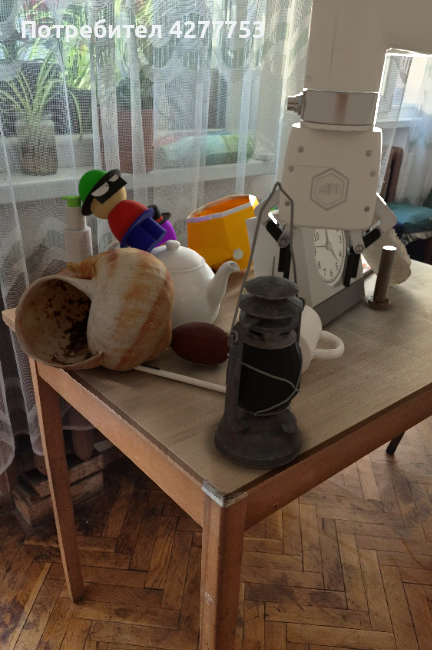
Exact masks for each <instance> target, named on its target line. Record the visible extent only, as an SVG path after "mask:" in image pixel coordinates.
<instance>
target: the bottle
mask: <svg viewBox="0 0 432 650" xmlns="http://www.w3.org/2000/svg"><path fill="white" fill-rule="evenodd" d="M60 199H61V200H66V205H64V214H65V215H64V216H65V225H66V226H64V227H63V228H62V233H63V242H64V250H65V251H64V252H65V260H66V263H67V262H72V263H76V264H77V263H78V262H80V261H82V260H84V259H86V258H88V257H91V256H94V251H93V239H92V230H91V229H92V228H91V227H90V226H88V225H87V216H84V215H82V213H81V208H82V204H83V203H82V200H81V198H80V196H79V195H74V194H73V195H67V196H66V195H64V196H63V195H62V196H61V197H60Z"/></svg>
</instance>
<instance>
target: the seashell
mask: <svg viewBox="0 0 432 650" xmlns="http://www.w3.org/2000/svg"><path fill="white" fill-rule="evenodd" d="M64 264H65V265H66V268H61V269H60V271H58V273H56V274H52V275H46V276H41V277H39V278H36V280H33V282H32V283H30V284H29V285H28V287H26V289H25V290H24V291H23V293H22V294H21V296H20V298H19V299H18V303H17V306H16V308H15V311H14V315H15V317H14V332H15V336H16V339H17V342H18V344H19V346H20V349H21V351H22V352H23V353H24V354H25V355H27V356H28V357H29V358H31V359H32V360H34V361H36V362H38V363H41V364H43V365H46V366H48V367H51V368H55V369H60V370H68V371H69V370H71V371H72V370H88V369H94V368H98V367H101V366H102V368H103V369H104V368H106V369H109V370H112V371H118V372H125V371H130V370H132V369H133V368H135V367H137V366H139V365H140V364H144V363H145V362H147V361H149V362H150V361H153V360H156V358H158V357H159V356H160V355H161V354H163V353H164V352H166V351H168V350H169V348H170V344H171V340H172V334H171V332H172V319H171V315H172V312H173V308H174V303H175V290H174V283H173V280H172V276H171V274H170V272H169V271H168V269H167V268H166V267H165V265H164V264H163V263H162V262H161V261H160V260H159V259H158V258H156V257H155V256H154V255H153V254H150V253H148V252H146V251H143V250H139V249H136V248H128V247H127V248H120V247H118V248H114V250H108V251H106V250H104V251H102V252H99V253H96V254H93V256H91V257H88V258H86V259H84V260H82V261H80V262H78V263H77V264H76V263H72V262H67V261H66V262H65V263H64Z"/></svg>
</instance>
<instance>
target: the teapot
mask: <svg viewBox="0 0 432 650" xmlns="http://www.w3.org/2000/svg"><path fill="white" fill-rule="evenodd" d="M118 245H120V242H119V241H118V240H117V239H116V238H115V240H113V241H111V242H110V243H109V244H108V245H107V247H106V250H105V251H108V250H114V249H116V248H117V246H118ZM127 248H131V247H130V246H129V247H127ZM150 254H153V255H154V256H155V257H156V258H158V259H159V260H160V261H161V262H162V263H163V264H164V265H165V267H166V268H167V269H168V271H169V272H170V274H171V276H172V280H173V283H174V290H175V303H174V308H173V312H172V315H171V319H172V330H173V329H175V328H176V327H178V326H179V325H182V324H185V323H189V322H206V323H209V324H213V325H214V322H216V319H217V318H218V316H219V312H220V310H221V309H220V308H221V304H222V302H223V299H224V297H225V294H226V290H227V286H228V282H229V278H230V276H231V274H233V273H239V272H241V271H240V268H239V266H238V264H237V263H236V262H234V261H228V262H225V263H224V264H222V265H221V267H220V268H219V269H218V270H216V272H215V273H214V272H213V270H212V268H210V267H209V266H208V265H207V264H206V263H205V260H204V258H203V257H202V256H200V255H199V254H197V253H196V252H195V251H193V250H192V249H189V248H188V247H187V246H183V245H181V243H180V241H178V240H177V241H175V240H169V241H166V243H165V246H160V247H156V248H154V249H153V250H152V251H151V252H150Z"/></svg>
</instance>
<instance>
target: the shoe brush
mask: <svg viewBox="0 0 432 650" xmlns="http://www.w3.org/2000/svg"><path fill="white" fill-rule="evenodd" d="M379 220H380V216H379V215H378V214H377V213H376V211H374V216H373V220H372V223H371V225H370V226H369V227H368V228H367V229H369V228H370V227H371V226H374V225H375V224H376V223H377V222H378V221H379ZM367 229H364V230H361V234H362V233H363V232H365V231H366V230H367ZM397 235H398V233H397V232H396V229H395V228H394V227H392V228H391V229H390V230H388V231H387V232H386V233H384V234H383V235H381V236H380V238H379V239H378V240H376V241H375V242H374V243H372V244H371V245H370V246H368V247H367V248H366V249H365V250H364V252H363V253H361V256H363V257H364V259H365V260H366V262H367V264H368V265H369V266H370V267H371V269H372V271H373V273H374V274H375V276H377V273H378V268H379V263H380V258H381V253H382V248H383V247H384V246H391V247H394V248H396V253H395V257H394V262H393V267H392V272H391V276H390V281H389V286H395V285H401V284H403V283H405V282H406V281H407V280H408V279H409V278H410V277H411V275H412V269H411V265H412V260H411V258H410V254H408V251H407V248H406V246H405V243H404V242H402V239H401V238H400V236H397ZM399 238H400V239H399Z"/></svg>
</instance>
